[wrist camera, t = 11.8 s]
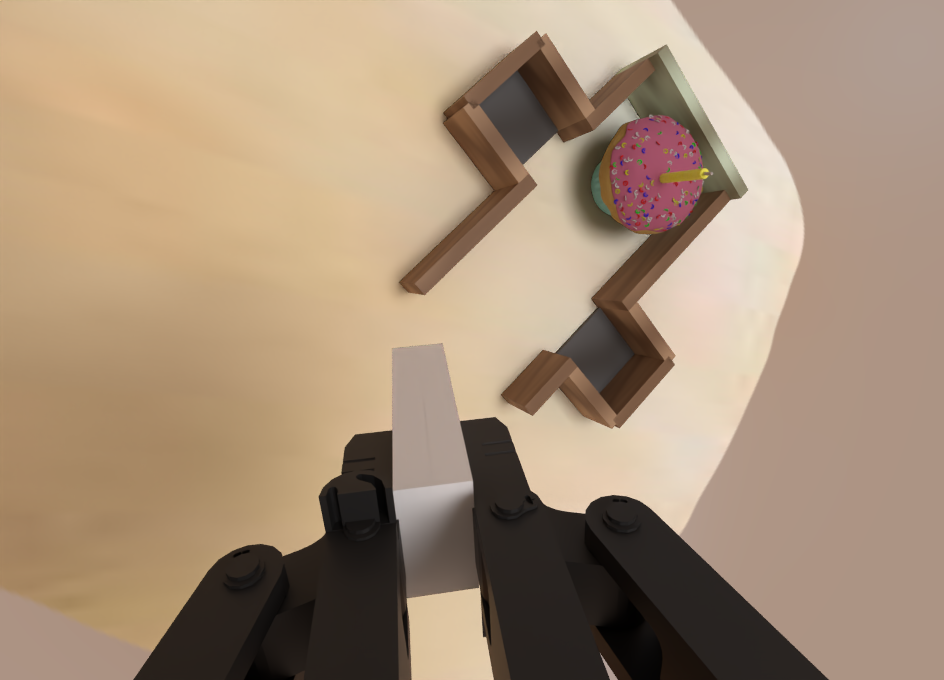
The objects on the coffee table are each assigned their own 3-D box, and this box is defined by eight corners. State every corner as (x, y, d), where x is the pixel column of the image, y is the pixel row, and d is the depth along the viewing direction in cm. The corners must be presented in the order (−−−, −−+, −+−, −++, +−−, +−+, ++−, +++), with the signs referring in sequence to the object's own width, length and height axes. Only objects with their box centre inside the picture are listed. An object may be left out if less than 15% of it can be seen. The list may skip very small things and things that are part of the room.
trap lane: (334, 210, 36) (346, 202, 32) (577, -7, 41) (618, -42, 37) (555, 454, 45) (589, 475, 41) (734, 253, 50) (783, 251, 46)
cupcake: (599, 257, 45) (713, 253, 34) (552, 163, 42) (659, 126, 31) (671, 203, 47) (801, 183, 36) (630, 110, 44) (757, 58, 33)
